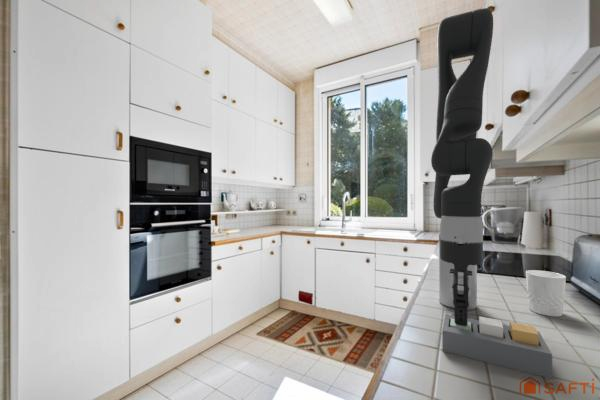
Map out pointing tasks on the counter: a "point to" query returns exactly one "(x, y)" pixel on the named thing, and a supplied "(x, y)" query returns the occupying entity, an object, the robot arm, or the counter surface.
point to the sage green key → (454, 325)
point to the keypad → (497, 348)
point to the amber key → (524, 333)
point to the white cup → (545, 292)
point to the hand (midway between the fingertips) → (460, 323)
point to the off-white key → (491, 327)
